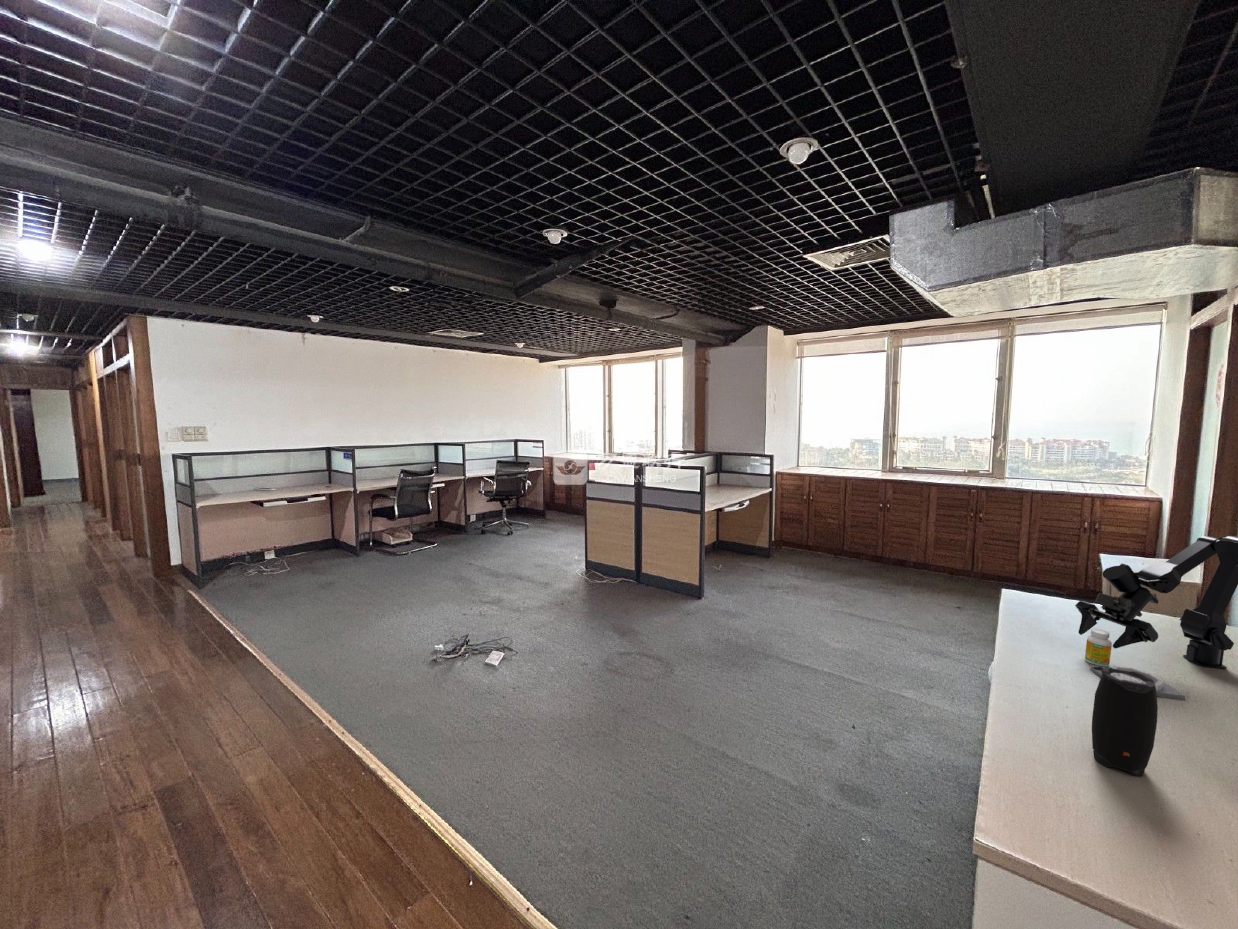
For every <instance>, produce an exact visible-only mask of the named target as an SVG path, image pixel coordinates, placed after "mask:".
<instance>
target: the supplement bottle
mask: <svg viewBox="0 0 1238 929" xmlns="http://www.w3.org/2000/svg"><path fill="white" fill-rule="evenodd" d="M1090 634H1091V635H1090ZM1090 634H1089V635H1088V636H1087V638H1086V645H1085V654H1084V660H1085V661H1086V662H1087V663H1089V664H1091V665H1094V664H1095V665H1094V666H1100V667H1110V663H1111V654H1112V648H1113V644H1112V641H1111V640H1110V639H1109V638H1110V635H1111V634H1110V632H1108V631H1106V630H1105V629H1104V630H1103V629H1099V628H1091V629H1090Z"/></svg>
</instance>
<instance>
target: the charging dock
mask: <svg viewBox="0 0 1238 929" xmlns="http://www.w3.org/2000/svg"><path fill="white" fill-rule="evenodd" d="M1089 668H1090V669H1089V671H1091V672H1092V671H1093V672H1092V673H1094V674H1095V675H1097V676H1098V677H1099V678H1101V676H1102V673H1101V672H1102V670H1103V666H1098V665H1093V666H1090V667H1089ZM1111 668H1114V669H1119V670H1125V671H1136V672H1139V673H1142V674H1145V675H1146V676H1148V677H1150V678H1151V679H1153V681H1154V683H1155V687H1156V695H1157V697H1162V698H1163V697H1164V698H1168V699H1177V698H1179V699H1178V700H1186V695H1185V694H1184V693H1182V692H1181V691H1178V690H1177V689H1176V688H1173V687H1172V686H1171V685H1169V684H1167V683H1166V682H1165V681H1164V680H1162V679H1161V678H1159V677H1158V676H1156V675H1155V674H1152V673H1150V672H1146V671H1143V670H1141V669H1138V668H1134V667H1129V666H1123V665H1122V666H1121V665H1119V666H1118V665H1112V666H1111Z"/></svg>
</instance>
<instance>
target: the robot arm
mask: <svg viewBox="0 0 1238 929" xmlns="http://www.w3.org/2000/svg"><path fill="white" fill-rule="evenodd" d="M1215 555H1216V556H1217V559H1218V562H1219V563H1218V565H1217V568H1216V569H1215V572H1214V573H1213V576H1212V578H1211V580H1210V582H1209V584H1208V586H1207V588H1206V590H1205V592H1204V594H1203V596H1202V598H1201V600H1200V602H1199V604H1198V606H1196V607H1194V608H1193V609H1190V608H1185V609H1184V611H1183V613H1182V616H1181V617H1180V618H1179V621H1180V623H1179V627H1180V628H1181V631H1182V633H1183V636H1184V638H1188V639H1189V641H1188V644H1187V645H1186V653H1185V654H1182V657H1183V658H1185V659H1187V660H1189V661H1191V662H1192V663H1194V664H1196V665H1198V666H1201V667H1209V668H1216V667H1221V668H1220V669H1225V668H1227V669H1228V666H1226V665H1224V664H1223V663H1224V662H1223V661H1224V652H1225V651H1227V650H1229V651H1230V650H1232V648H1233V646H1234V644H1235V642H1234V641H1233V640H1232V639H1231V638H1230V637H1229V636H1228V635H1227V634H1226V629H1227V623H1226V620H1225V616H1224V614H1225V611H1226V609H1227V607H1228V605H1229V603H1230V602H1231V599H1232V598H1233V596H1234V593H1235V591H1236V589H1237V588H1238V536H1234V535H1227V536H1226V537H1216V536H1207V535H1203V536H1202V535H1201V536H1199V537H1198V538H1197V539H1196V540H1195V541H1194V542H1193V543H1191V544H1190V545H1189V546H1187V547H1185V548H1184V549H1182V550H1181V551H1180V552H1178V553H1177V554H1175V555H1173V556H1172V557H1171V558H1169V559H1168V560H1165V562H1162V563H1158V564H1153V565H1148V567H1145V568H1142V569H1141V570H1139V571H1133V569H1132V568H1131V566H1130V565H1128V564H1125V563H1120V564H1119V565H1113V566H1110V567H1107V568H1105V569H1104V570H1103V571H1102V577H1103V578H1104V579H1105V580H1106V581H1107V582H1108V583H1109V584H1110V585H1111V586H1112V587H1113V589H1115V591H1117V592H1119V593H1121V594H1120V595H1118V596H1115V595H1114V596H1111V595H1108V594H1105V593H1103V592H1102V593H1101V592H1099V593H1098V594H1097V596H1096V597H1095V601H1094V603H1096V604H1098V605H1101V609H1102V610H1104V611H1101V610H1099V608H1098V607H1097V606H1096V605H1095V604H1094V603H1091V602H1088V601H1085V600H1079V601H1078V602H1077V603H1076V604H1075V605H1074V606H1075V608H1076V609H1077V610H1078V612H1079V613H1080V614H1081V620H1080V625H1079V629H1078V634H1079V635H1080V636H1082V635H1084V634H1085V633H1087V632H1088V631H1089V630H1091V629H1093V627H1095V626H1096V625H1097V624H1098V622H1097V621H1100V620H1101V619H1103V620H1105V621H1109V622H1111V623H1114V624H1117V625H1121V626H1123V627H1125V629H1124V631H1123V632H1122V634H1121V635H1119V637H1118V638H1117V639H1116V640H1115V641H1114V642H1113V644H1112V648H1114V649H1119V648H1123V647H1125V646H1128V645H1133V644H1137V643H1142V642H1144V643H1147V642H1151V643H1155V642H1156V641H1157V640H1158V639H1159V633H1158V632H1157V630H1156V629H1155V628H1154V626H1153V625H1152V624H1151V623H1150V622H1148V621H1145V620H1142V619H1141V620H1140V619H1139V617H1140V618H1141V617H1142V615H1143V613H1142V611H1143V610H1144V609H1145V607H1147V605H1148V604H1149V603H1152V604H1156V605H1157V604H1159V599H1158V598H1157V597H1158V596H1157V594H1156V593H1153V592H1151V591H1155V592H1157V593H1159V594H1169V593H1171V592H1172V591H1174V590H1175V589H1176V588H1177V587H1178V586H1179V585H1180V584H1181V583H1182V582H1181V581H1182V577H1183V576H1185V575H1186V574H1187V573H1189V572H1190V571H1192V570H1193V569H1195V568H1196V567H1198V566H1200V565H1201V564H1203V563H1204V562H1206V561H1207V560H1209V559H1210V558H1211V557H1214V556H1215ZM1150 590H1151V591H1150ZM1136 617H1138V618H1136Z"/></svg>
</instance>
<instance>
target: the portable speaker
mask: <svg viewBox="0 0 1238 929" xmlns="http://www.w3.org/2000/svg"><path fill="white" fill-rule="evenodd" d="M1111 667H1112V666H1111ZM1111 667H1110V666H1102V668H1103V670H1102V672H1101V673H1102V676H1101V677H1100V679H1099V682H1098V684H1097V687H1096V690H1095V693H1094V700H1093V707H1092V716H1091V741H1092V743H1091V744H1092V750H1093V752H1092V753H1093V758H1094V759H1095V760H1096V761H1097V763H1099V764H1101V765H1102V766H1105V767H1106V769H1107V768H1108V769H1110V768H1112V767H1113V768H1117V769H1119V770H1123V771H1126V772H1129V773H1130V775H1132V776H1133V777H1143V775H1144V774H1145V771H1146V768H1147V767H1148V764H1149V761H1150V758H1151V756H1152V753H1153V750H1154V745H1155V741H1156V740H1155V739H1156V734H1157V733H1156V732H1157V724H1158V710H1159V708H1158V707H1159V706H1158V699H1157V698H1158V696H1157V695H1156V687H1155V683H1154V681H1153V679H1151V678H1150V677H1148V676H1146V675H1145V674H1142V673H1139V672H1136V671H1125V670H1119V669H1114V668H1111Z"/></svg>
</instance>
